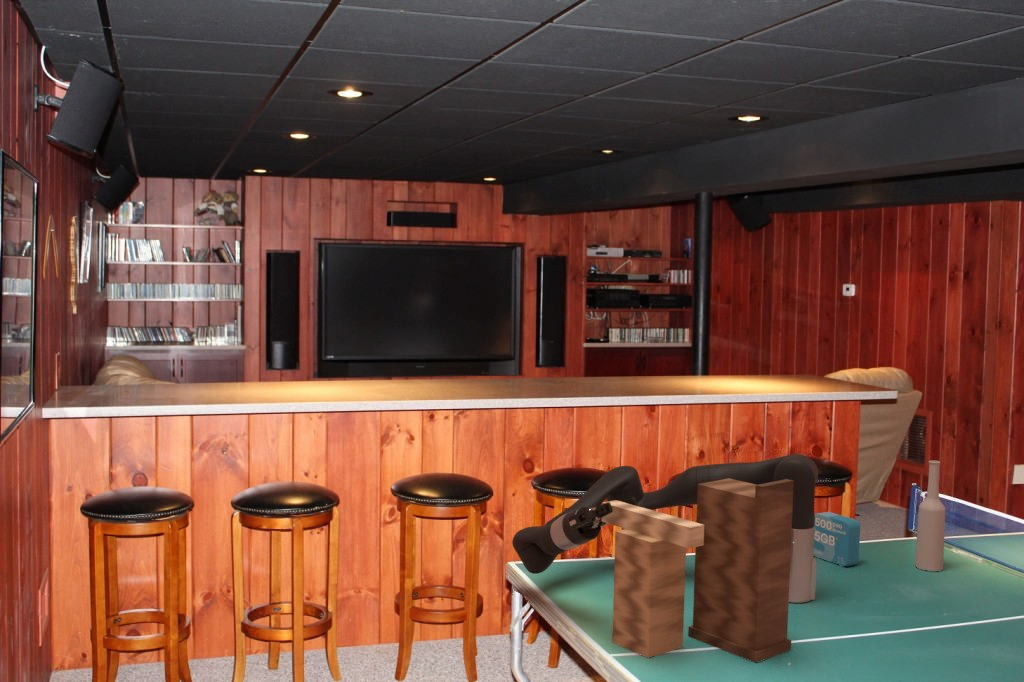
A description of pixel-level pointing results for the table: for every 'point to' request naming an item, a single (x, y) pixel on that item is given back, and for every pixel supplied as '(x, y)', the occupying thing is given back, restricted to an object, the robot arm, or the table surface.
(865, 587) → the table surface
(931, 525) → the bottle
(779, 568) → the tall walnut stand
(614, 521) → the brown wooden block
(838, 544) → the data package
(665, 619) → the light wooden pillar block
